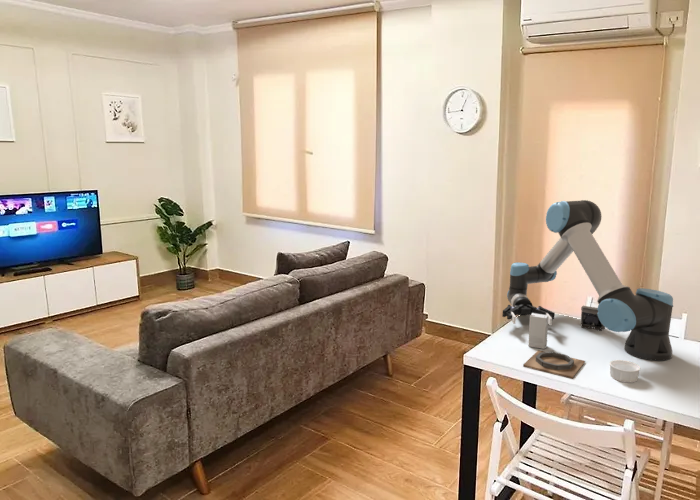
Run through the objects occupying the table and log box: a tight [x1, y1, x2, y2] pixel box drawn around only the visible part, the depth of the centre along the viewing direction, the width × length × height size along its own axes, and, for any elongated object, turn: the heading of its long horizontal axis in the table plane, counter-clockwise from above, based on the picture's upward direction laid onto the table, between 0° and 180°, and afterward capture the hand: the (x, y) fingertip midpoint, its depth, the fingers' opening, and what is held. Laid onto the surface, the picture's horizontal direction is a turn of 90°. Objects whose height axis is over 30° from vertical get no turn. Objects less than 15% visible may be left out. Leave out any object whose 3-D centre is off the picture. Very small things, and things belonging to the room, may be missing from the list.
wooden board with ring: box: [523, 349, 586, 379], centre depth 184 cm, size 16×16×2 cm
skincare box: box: [528, 313, 549, 350], centre depth 199 cm, size 6×4×12 cm
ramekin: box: [609, 359, 641, 384], centre depth 174 cm, size 9×9×4 cm
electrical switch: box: [580, 305, 606, 332], centre depth 218 cm, size 9×5×9 cm, turn 57°
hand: (532, 321), depth 208 cm, fingers open, 13 cm apart
